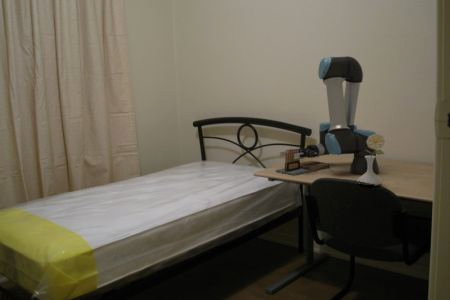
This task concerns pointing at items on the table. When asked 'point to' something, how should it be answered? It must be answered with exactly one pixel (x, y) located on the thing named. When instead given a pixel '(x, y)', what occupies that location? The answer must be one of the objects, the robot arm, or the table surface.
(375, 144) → the flower in vase
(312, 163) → the walnut caddy
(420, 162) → the table surface
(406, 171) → the table surface
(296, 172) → the slate mat
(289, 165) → the ammunition clip
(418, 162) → the table surface
